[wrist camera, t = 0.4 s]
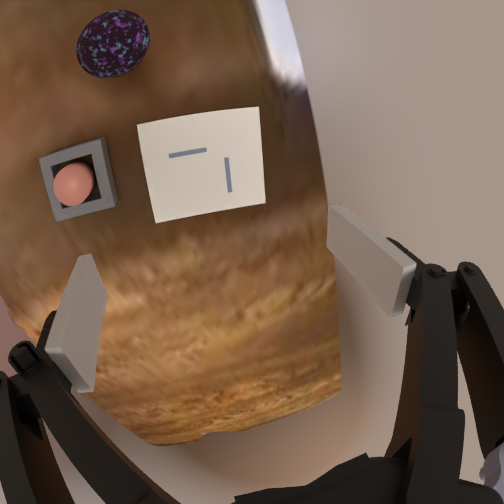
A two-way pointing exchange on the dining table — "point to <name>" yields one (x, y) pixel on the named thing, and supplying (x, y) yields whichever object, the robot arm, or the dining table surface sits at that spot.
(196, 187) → the paper pad
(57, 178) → the button
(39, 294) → the dining table surface
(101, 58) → the lollipop
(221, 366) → the dining table surface
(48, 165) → the button housing
